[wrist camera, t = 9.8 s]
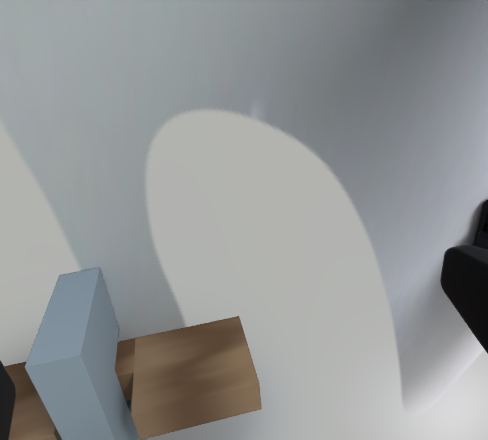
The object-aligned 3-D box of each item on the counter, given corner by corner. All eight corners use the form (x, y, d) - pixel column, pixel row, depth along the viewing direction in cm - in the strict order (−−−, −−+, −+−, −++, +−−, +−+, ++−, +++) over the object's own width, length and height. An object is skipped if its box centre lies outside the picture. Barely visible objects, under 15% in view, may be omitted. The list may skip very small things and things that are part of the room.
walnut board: (238, 316, 23) (259, 383, 19) (241, 339, 24) (261, 409, 20) (-45, 377, 21) (-98, 470, 16) (-30, 400, 21) (-76, 495, 17)
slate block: (146, 413, 25) (145, 514, 20) (116, 421, 25) (106, 526, 20) (99, 267, 19) (80, 355, 14) (59, 274, 19) (24, 367, 14)
